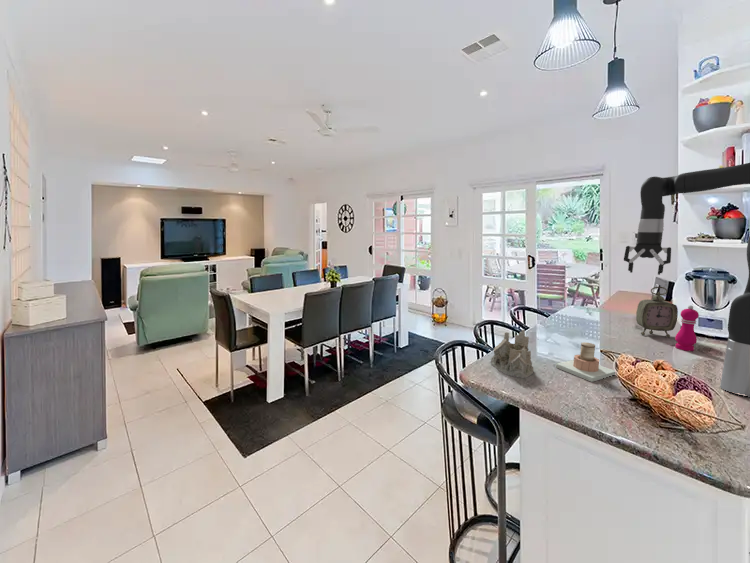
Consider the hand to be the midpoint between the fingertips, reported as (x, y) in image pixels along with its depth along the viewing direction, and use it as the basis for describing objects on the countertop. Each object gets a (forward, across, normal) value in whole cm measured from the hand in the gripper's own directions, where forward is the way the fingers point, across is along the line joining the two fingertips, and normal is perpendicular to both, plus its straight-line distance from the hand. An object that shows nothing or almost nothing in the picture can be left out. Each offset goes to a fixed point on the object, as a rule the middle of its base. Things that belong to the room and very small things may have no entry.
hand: (644, 273), depth 135 cm
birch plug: (+35, -13, -24) cm, 44 cm away
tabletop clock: (+36, +5, +53) cm, 64 cm away
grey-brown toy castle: (+36, -36, -39) cm, 64 cm away
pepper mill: (+36, +16, +35) cm, 53 cm away
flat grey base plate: (+36, -13, -24) cm, 45 cm away
